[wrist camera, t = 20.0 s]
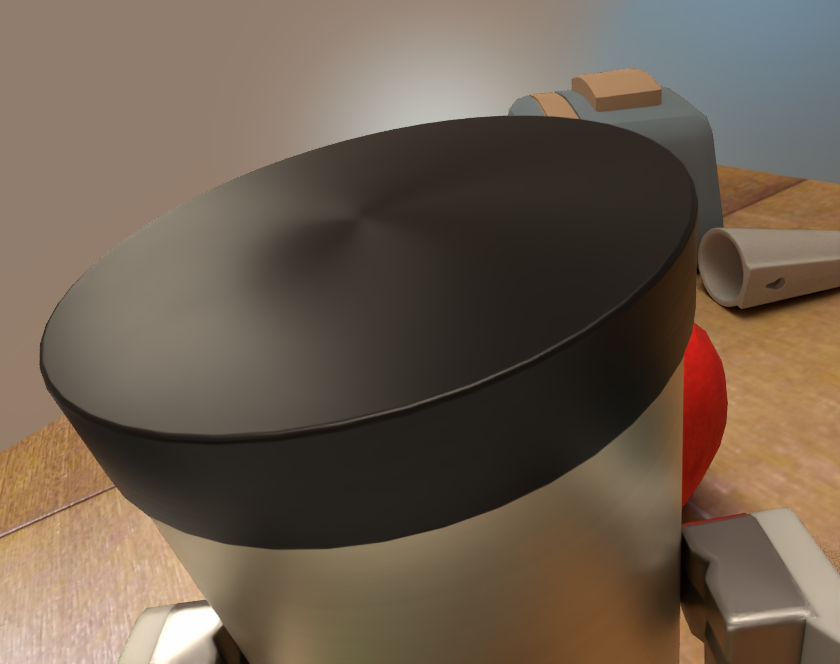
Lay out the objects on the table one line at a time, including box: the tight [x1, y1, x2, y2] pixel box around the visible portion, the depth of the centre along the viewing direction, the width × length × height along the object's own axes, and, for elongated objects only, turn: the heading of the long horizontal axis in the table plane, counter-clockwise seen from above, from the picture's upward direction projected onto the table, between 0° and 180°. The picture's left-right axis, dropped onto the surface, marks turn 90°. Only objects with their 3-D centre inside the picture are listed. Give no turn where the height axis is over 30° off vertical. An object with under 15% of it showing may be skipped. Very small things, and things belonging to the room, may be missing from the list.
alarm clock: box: [508, 68, 724, 269], centre depth 55 cm, size 16×16×16 cm
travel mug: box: [40, 115, 698, 664], centre depth 10 cm, size 7×7×10 cm
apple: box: [682, 323, 728, 506], centre depth 30 cm, size 9×9×11 cm
